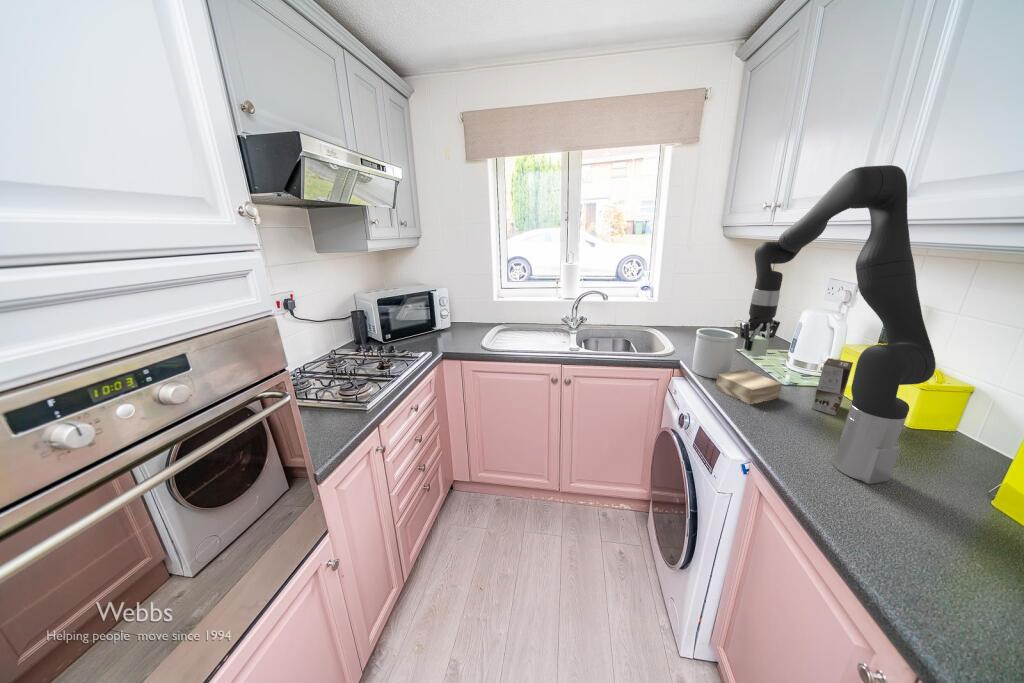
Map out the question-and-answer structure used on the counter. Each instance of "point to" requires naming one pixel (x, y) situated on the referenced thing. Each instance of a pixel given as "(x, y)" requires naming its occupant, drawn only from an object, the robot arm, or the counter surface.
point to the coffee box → (832, 385)
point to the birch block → (748, 386)
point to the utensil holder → (713, 352)
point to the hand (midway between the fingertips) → (754, 349)
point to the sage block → (757, 347)
